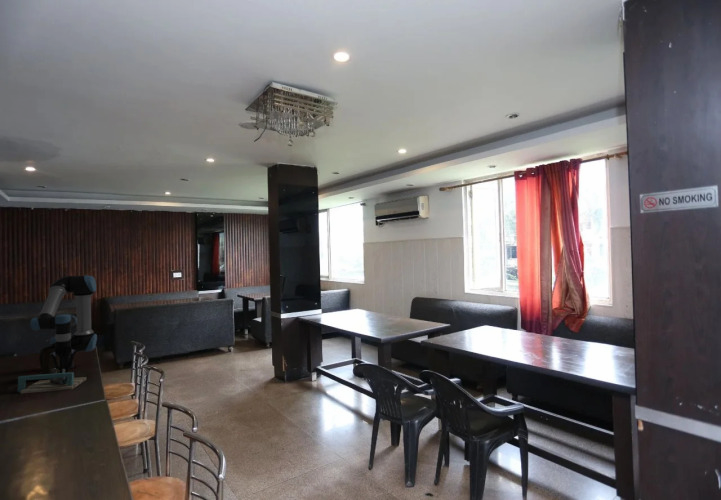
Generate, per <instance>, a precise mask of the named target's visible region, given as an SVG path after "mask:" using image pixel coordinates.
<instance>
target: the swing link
mask: <svg viewBox="0 0 721 500" xmlns="http://www.w3.org/2000/svg"><path fill="white" fill-rule="evenodd" d="M50 382H54V383H57V384H60V385H63V384H67V377H65V378H64V377H62V378H50Z"/></svg>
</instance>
